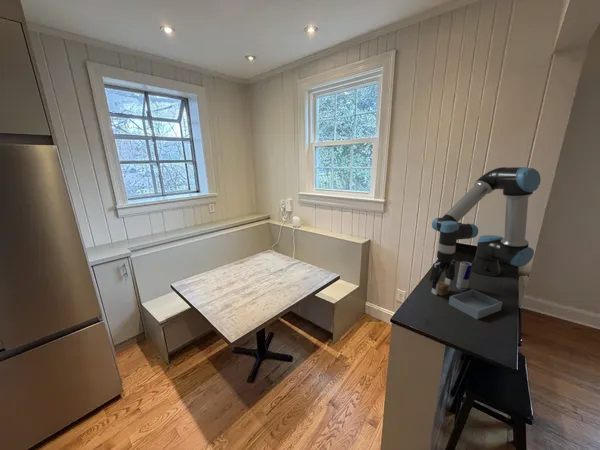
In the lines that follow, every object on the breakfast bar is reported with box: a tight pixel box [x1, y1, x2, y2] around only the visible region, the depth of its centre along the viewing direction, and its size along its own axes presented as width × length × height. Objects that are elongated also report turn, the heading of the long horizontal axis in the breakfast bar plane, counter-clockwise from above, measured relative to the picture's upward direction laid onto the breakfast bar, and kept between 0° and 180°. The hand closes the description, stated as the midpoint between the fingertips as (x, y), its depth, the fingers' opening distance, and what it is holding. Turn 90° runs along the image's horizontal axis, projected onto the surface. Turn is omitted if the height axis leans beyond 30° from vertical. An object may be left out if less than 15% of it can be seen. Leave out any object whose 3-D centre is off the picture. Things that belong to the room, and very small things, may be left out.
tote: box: [448, 288, 503, 320], centre depth 114 cm, size 17×13×4 cm
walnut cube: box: [437, 280, 450, 297], centre depth 128 cm, size 5×5×5 cm
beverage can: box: [456, 261, 472, 291], centre depth 130 cm, size 5×5×15 cm
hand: (440, 291), depth 128 cm, fingers open, 8 cm apart
